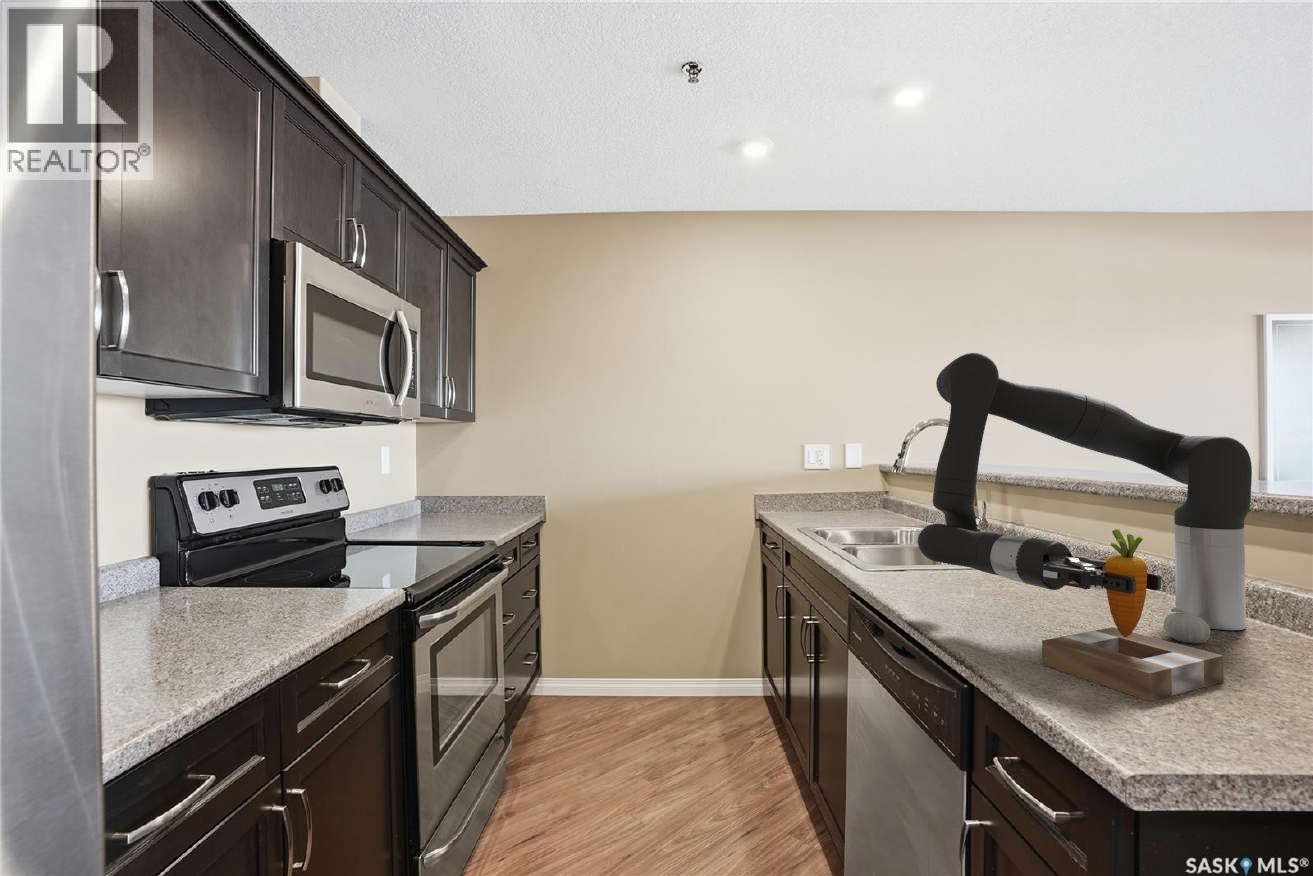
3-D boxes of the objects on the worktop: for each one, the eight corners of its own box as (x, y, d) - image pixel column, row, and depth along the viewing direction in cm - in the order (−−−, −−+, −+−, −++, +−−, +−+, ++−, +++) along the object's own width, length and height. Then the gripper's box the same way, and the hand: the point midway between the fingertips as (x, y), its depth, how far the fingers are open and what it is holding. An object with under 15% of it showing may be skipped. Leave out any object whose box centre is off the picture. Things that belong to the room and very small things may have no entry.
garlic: (1155, 639, 101) (1155, 607, 101) (1171, 634, 104) (1170, 603, 104) (1201, 649, 96) (1200, 616, 96) (1216, 644, 98) (1216, 611, 98)
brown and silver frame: (1113, 649, 96) (1112, 627, 96) (1223, 681, 83) (1223, 655, 83) (1042, 664, 90) (1042, 640, 90) (1150, 701, 77) (1149, 673, 77)
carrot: (1155, 644, 84) (1156, 534, 83) (1114, 641, 85) (1115, 532, 84) (1135, 632, 88) (1136, 528, 88) (1096, 630, 89) (1097, 527, 89)
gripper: (998, 540, 97) (1113, 560, 81) (1060, 535, 102) (1179, 553, 87) (998, 587, 97) (1113, 617, 81) (1059, 580, 102) (1178, 607, 87)
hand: (1146, 584), depth 84 cm, fingers closed on carrot, 5 cm apart
